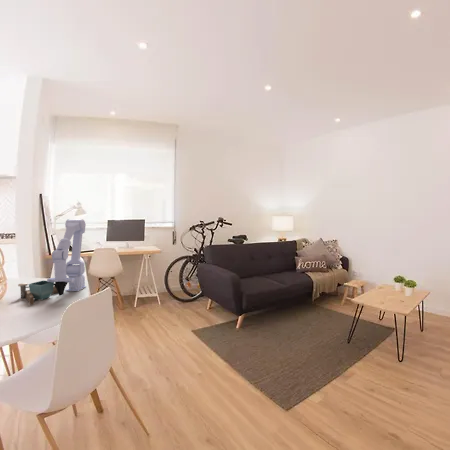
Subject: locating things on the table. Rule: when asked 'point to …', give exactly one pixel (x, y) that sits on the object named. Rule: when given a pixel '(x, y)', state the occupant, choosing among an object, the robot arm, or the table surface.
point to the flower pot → (41, 289)
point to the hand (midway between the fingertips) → (61, 294)
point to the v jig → (28, 295)
